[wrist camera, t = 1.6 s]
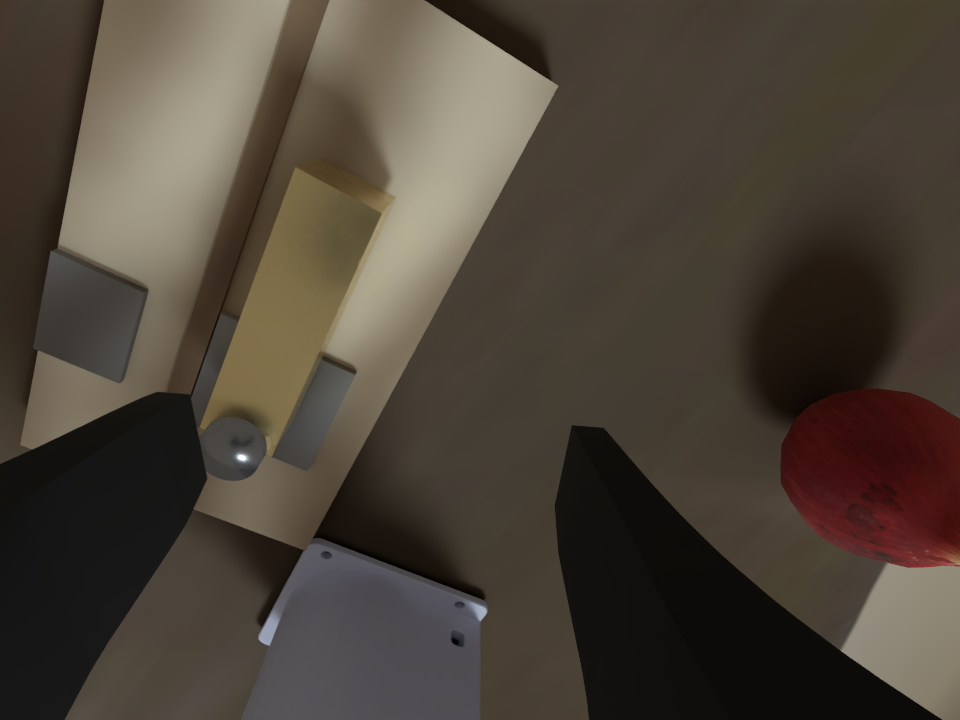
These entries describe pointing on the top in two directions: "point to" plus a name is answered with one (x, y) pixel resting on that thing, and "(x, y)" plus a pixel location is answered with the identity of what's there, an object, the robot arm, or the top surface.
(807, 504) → the onion
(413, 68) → the door board
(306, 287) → the swing bar
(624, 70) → the top surface
